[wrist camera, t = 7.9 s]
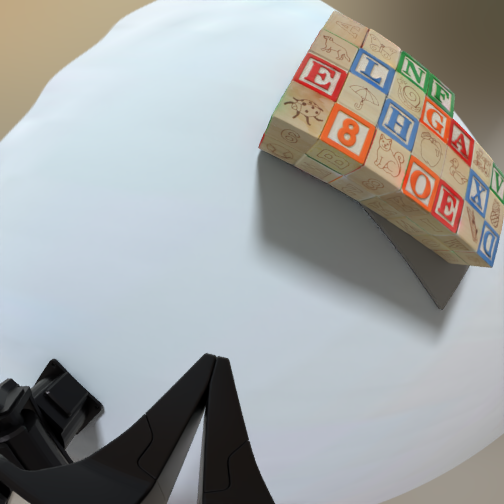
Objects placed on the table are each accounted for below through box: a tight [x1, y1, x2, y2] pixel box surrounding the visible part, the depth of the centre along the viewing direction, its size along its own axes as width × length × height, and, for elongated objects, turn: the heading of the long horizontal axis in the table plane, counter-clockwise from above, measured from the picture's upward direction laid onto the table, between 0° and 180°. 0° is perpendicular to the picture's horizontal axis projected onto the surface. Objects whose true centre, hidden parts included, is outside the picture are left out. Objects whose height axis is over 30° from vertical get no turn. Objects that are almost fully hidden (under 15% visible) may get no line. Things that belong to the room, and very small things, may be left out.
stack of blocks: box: [258, 11, 504, 268], centre depth 19 cm, size 21×6×12 cm
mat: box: [358, 201, 470, 310], centre depth 23 cm, size 13×24×1 cm, turn 46°
